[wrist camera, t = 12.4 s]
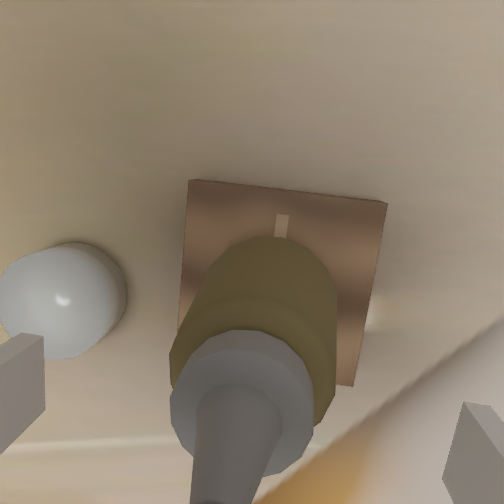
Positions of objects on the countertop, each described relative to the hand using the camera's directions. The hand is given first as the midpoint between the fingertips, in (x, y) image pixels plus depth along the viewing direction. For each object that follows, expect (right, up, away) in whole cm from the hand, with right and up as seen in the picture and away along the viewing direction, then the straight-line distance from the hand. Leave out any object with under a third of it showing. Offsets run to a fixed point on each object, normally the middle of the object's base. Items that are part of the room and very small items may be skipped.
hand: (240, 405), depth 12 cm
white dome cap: (-14, +2, +19) cm, 23 cm away
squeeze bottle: (+2, +3, +14) cm, 15 cm away
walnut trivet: (+2, +3, +17) cm, 17 cm away
